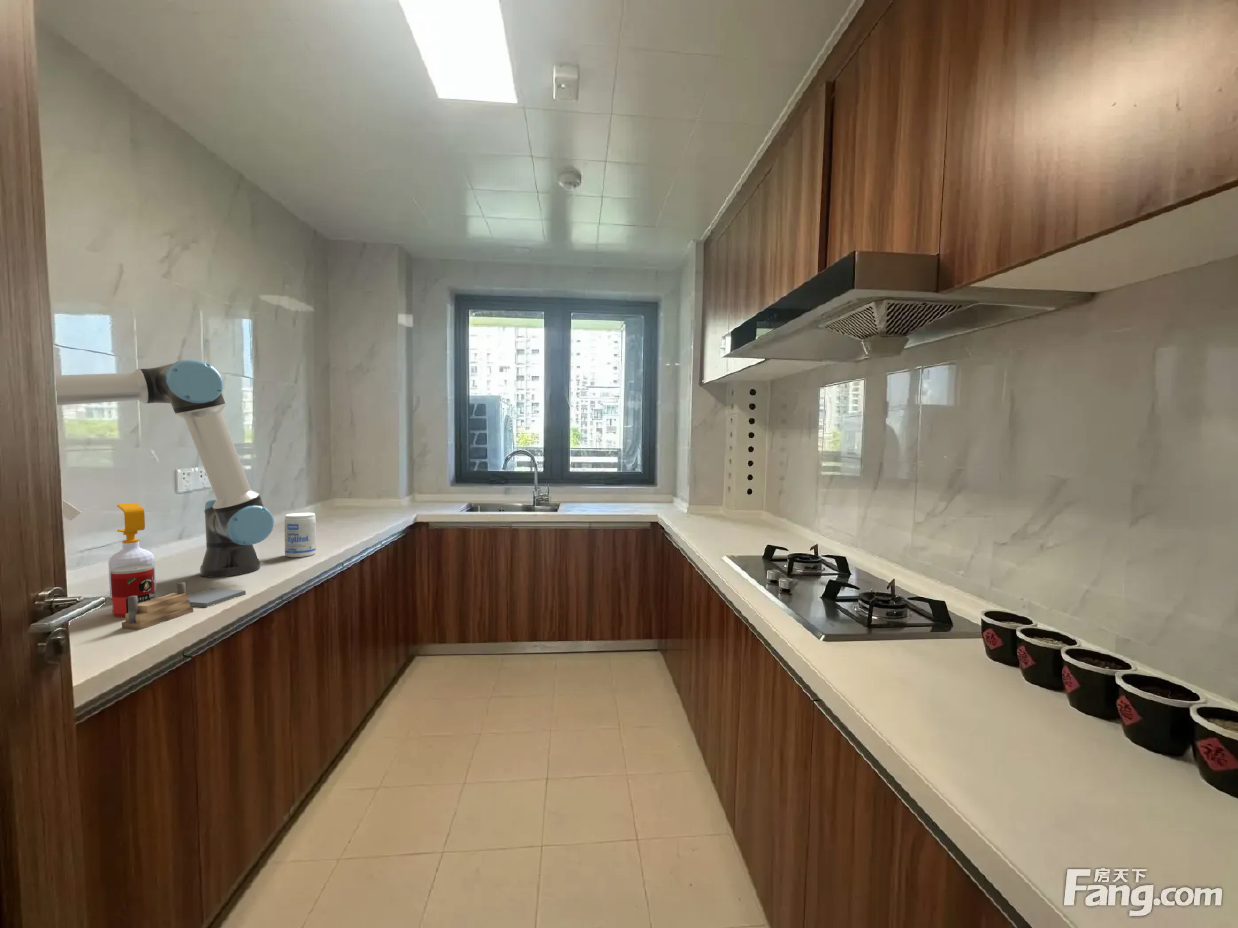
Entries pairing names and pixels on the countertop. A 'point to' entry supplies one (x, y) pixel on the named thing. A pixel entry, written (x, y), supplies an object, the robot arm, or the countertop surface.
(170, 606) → the offcut rack
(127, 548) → the soap bottle
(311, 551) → the supplement tub
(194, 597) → the slate mat
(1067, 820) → the countertop surface
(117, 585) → the canned food
